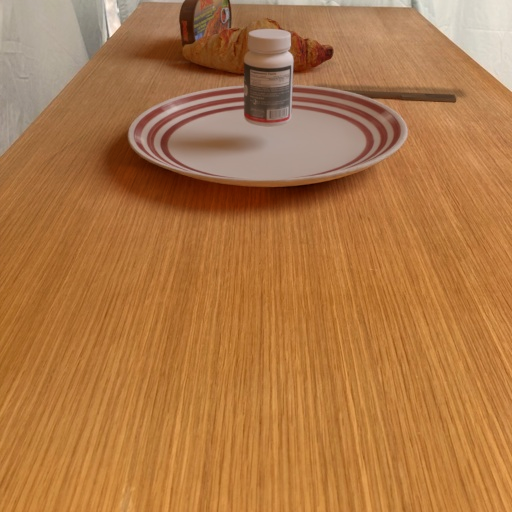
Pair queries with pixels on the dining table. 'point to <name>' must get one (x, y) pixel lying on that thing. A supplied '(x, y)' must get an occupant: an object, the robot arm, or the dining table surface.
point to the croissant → (235, 48)
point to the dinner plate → (267, 137)
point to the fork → (406, 95)
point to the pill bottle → (268, 78)
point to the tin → (203, 19)
